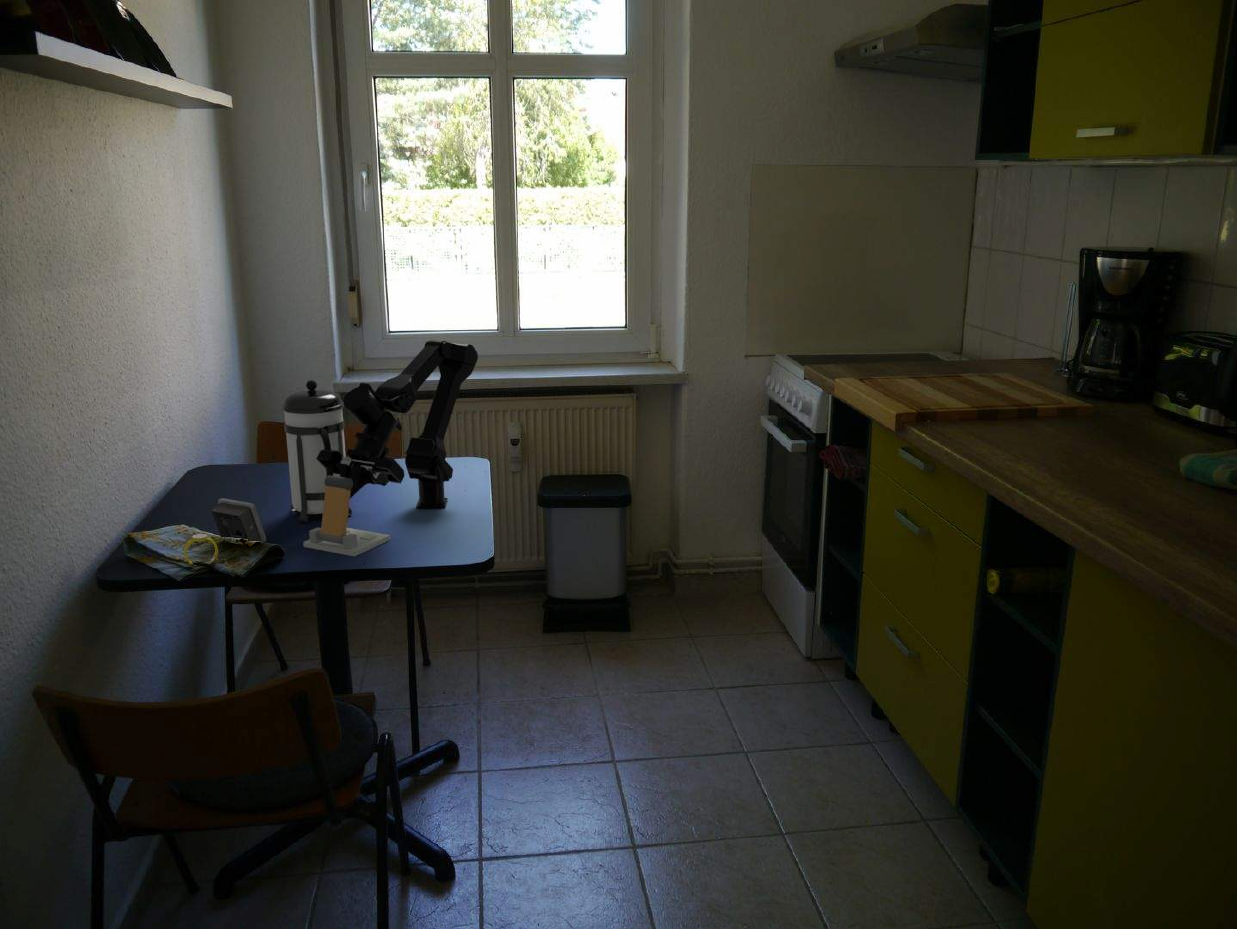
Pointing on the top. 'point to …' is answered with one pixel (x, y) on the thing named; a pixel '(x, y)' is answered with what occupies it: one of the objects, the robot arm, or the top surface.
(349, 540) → the switch base
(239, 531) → the electrical switch
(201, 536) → the watch
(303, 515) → the coffee press
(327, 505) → the lever
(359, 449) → the robot arm
